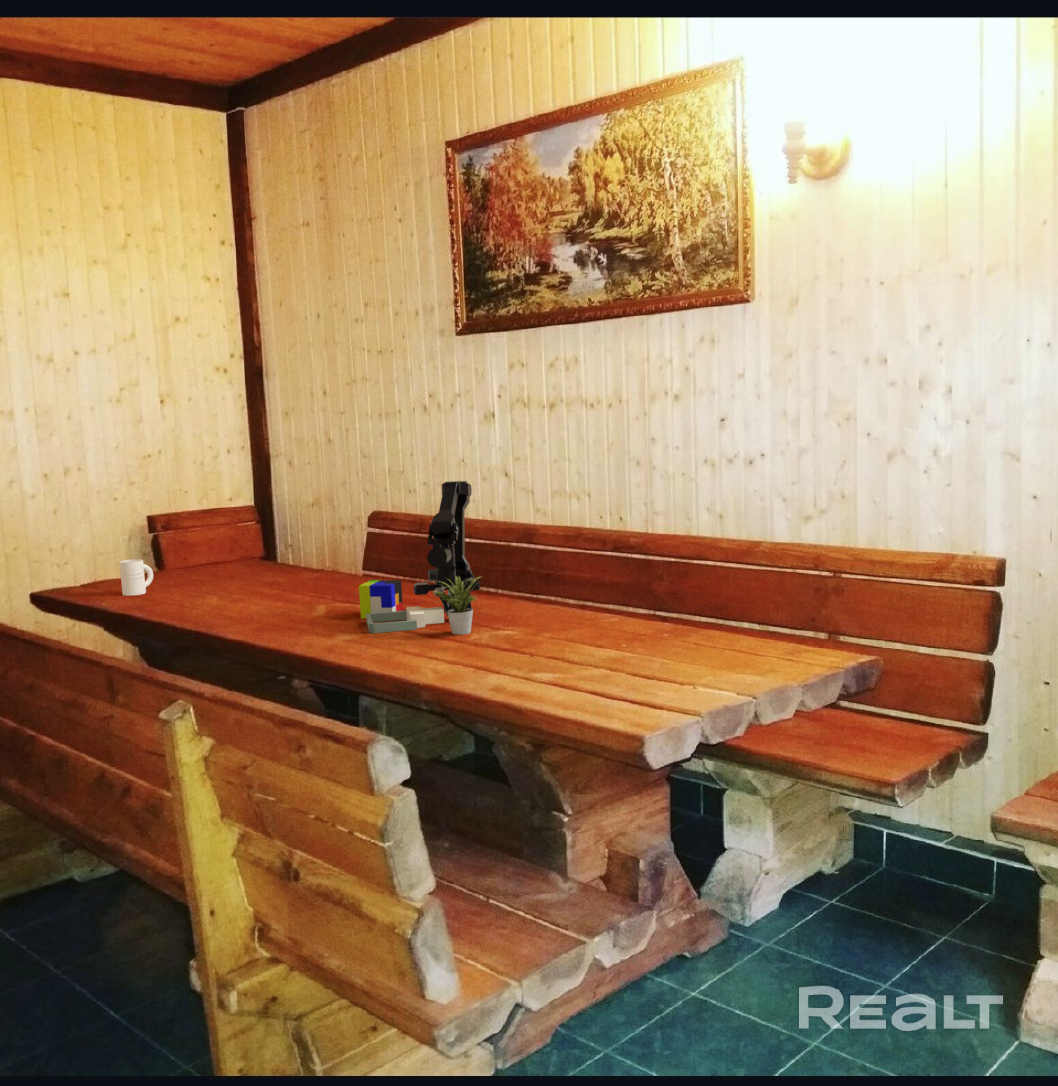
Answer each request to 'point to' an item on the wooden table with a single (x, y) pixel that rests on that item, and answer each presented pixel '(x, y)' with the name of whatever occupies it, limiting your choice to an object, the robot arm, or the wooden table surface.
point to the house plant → (459, 606)
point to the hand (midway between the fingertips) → (448, 615)
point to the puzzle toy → (380, 596)
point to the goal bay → (389, 625)
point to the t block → (425, 615)
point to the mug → (134, 577)
